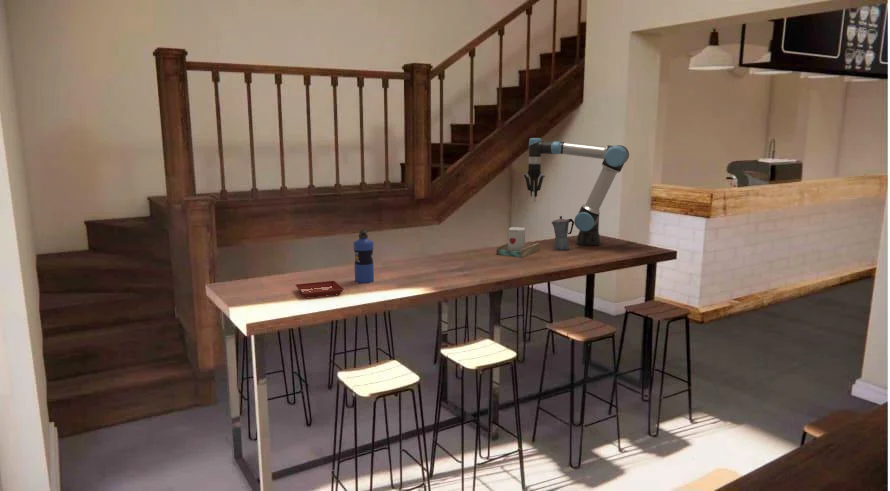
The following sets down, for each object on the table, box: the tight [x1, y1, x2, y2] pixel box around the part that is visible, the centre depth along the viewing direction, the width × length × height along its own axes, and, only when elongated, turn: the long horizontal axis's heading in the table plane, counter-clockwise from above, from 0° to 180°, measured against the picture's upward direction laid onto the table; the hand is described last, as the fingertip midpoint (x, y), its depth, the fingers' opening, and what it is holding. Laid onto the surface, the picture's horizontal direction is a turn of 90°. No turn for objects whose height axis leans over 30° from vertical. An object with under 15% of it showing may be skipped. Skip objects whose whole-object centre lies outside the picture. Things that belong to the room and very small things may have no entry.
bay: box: [496, 242, 541, 258], centre depth 372 cm, size 16×24×4 cm
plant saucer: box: [295, 280, 345, 298], centre depth 284 cm, size 18×18×3 cm
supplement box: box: [507, 226, 526, 252], centre depth 367 cm, size 9×9×15 cm
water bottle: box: [353, 229, 375, 284], centre depth 302 cm, size 9×9×25 cm
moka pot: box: [551, 215, 575, 251], centre depth 380 cm, size 10×15×20 cm, turn 115°
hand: (533, 201), depth 394 cm, fingers closed
